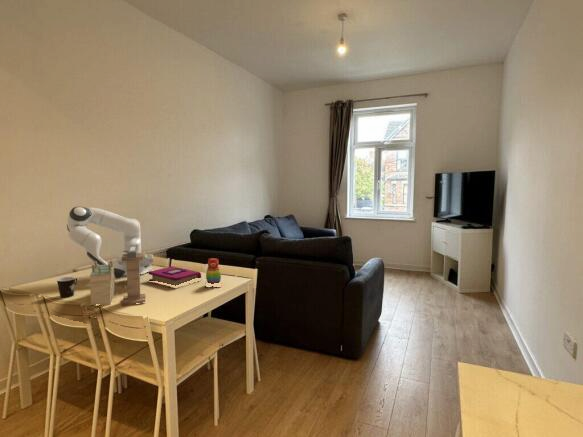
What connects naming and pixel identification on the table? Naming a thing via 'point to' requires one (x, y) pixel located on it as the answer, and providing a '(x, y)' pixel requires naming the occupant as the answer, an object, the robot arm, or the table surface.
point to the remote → (132, 251)
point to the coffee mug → (66, 286)
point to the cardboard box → (102, 284)
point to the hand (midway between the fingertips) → (135, 255)
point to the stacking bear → (213, 271)
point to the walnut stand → (133, 280)
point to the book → (173, 275)
